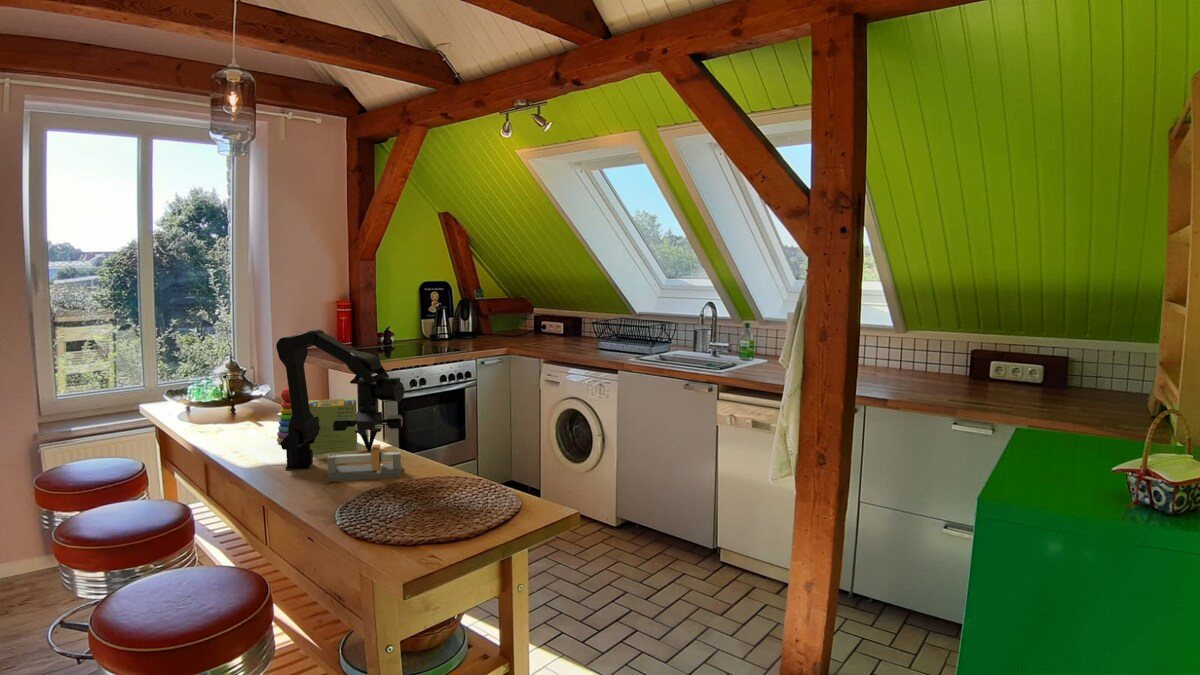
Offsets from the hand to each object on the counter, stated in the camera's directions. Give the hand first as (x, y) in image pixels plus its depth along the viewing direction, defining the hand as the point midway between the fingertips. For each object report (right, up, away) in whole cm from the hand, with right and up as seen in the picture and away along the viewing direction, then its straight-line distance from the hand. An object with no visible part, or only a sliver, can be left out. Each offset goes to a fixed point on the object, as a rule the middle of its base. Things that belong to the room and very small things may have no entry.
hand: (369, 451), depth 198 cm
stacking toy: (-38, -2, +32) cm, 49 cm away
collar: (+2, -5, +1) cm, 5 cm away
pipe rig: (-1, -7, +1) cm, 7 cm away
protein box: (-21, -3, +26) cm, 33 cm away
